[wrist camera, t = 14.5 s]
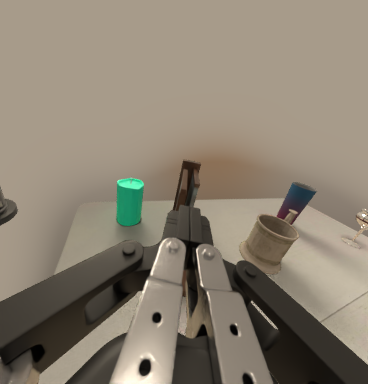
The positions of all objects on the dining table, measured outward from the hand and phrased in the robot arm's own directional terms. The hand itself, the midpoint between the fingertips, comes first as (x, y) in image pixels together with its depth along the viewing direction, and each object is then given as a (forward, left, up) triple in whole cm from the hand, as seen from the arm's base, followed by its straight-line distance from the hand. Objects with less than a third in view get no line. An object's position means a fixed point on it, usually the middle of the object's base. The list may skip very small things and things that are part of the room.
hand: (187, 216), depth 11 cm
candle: (-12, +23, -20) cm, 33 cm away
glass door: (0, +18, -18) cm, 26 cm away
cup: (+39, +37, -20) cm, 57 cm away
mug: (+24, +20, -20) cm, 37 cm away
